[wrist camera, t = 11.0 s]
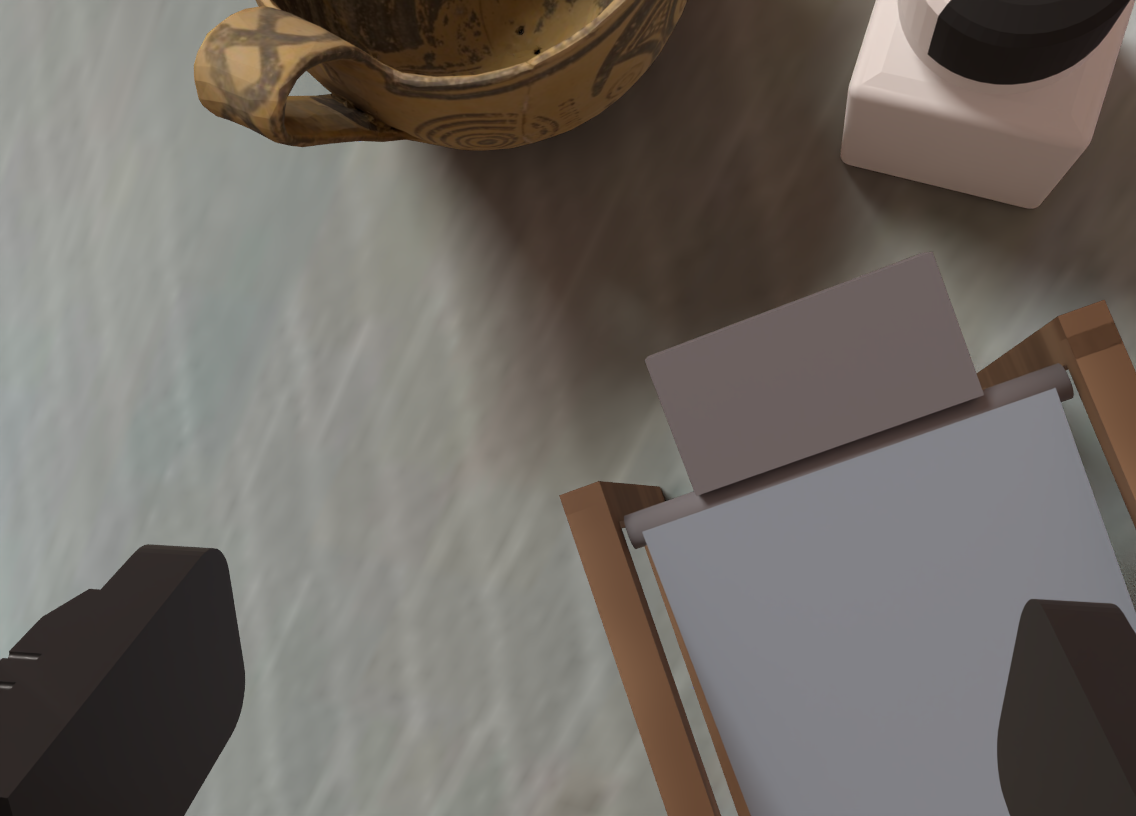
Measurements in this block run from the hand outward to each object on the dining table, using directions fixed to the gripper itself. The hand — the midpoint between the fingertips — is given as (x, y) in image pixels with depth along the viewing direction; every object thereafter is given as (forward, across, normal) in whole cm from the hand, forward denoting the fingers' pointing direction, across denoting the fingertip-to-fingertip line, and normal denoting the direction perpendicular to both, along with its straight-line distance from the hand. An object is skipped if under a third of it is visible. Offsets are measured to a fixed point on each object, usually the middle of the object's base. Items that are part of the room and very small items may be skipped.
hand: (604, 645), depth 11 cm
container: (+36, -11, 0) cm, 38 cm away
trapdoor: (+18, -6, +10) cm, 22 cm away
